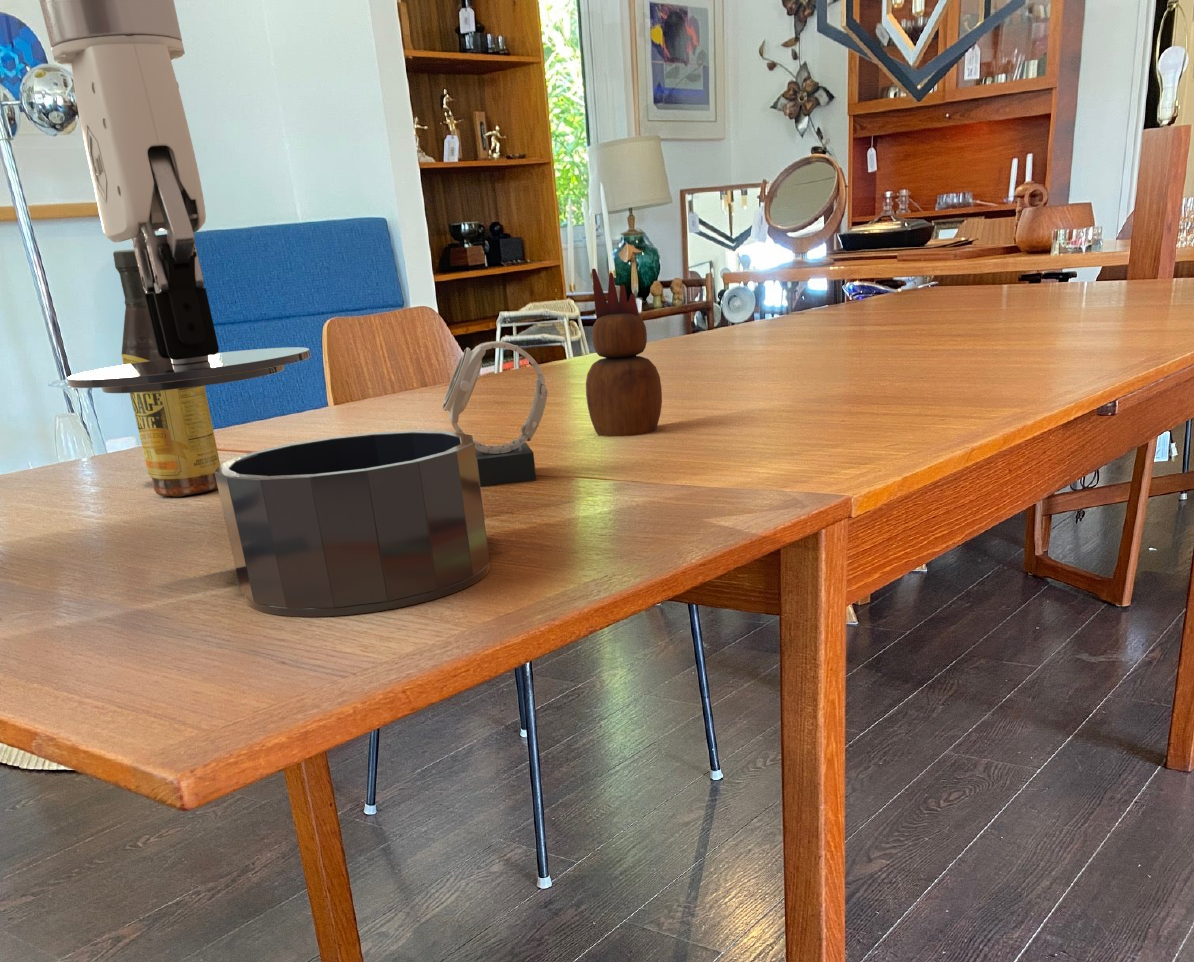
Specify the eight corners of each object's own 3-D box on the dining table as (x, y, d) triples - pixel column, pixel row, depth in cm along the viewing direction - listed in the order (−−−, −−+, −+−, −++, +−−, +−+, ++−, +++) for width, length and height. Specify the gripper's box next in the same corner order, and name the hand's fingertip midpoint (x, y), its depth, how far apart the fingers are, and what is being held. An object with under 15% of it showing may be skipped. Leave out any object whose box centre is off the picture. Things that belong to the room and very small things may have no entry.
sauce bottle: (143, 495, 105) (82, 253, 97) (207, 482, 109) (155, 248, 100) (172, 502, 101) (111, 249, 92) (239, 488, 104) (186, 243, 96)
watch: (453, 490, 94) (433, 346, 89) (551, 479, 95) (537, 335, 90) (456, 504, 89) (435, 351, 84) (560, 491, 90) (545, 339, 85)
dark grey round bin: (285, 634, 61) (255, 490, 58) (219, 582, 73) (190, 459, 70) (531, 577, 67) (516, 444, 64) (433, 538, 79) (416, 423, 76)
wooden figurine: (579, 448, 108) (563, 271, 102) (613, 437, 112) (600, 267, 106) (641, 449, 104) (629, 266, 98) (674, 437, 109) (664, 261, 102)
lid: (91, 404, 68) (61, 292, 66) (57, 390, 81) (31, 295, 78) (343, 368, 75) (325, 264, 72) (276, 360, 87) (258, 272, 85)
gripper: (32, 54, 74) (110, 360, 82) (66, 0, 61) (155, 368, 69) (152, 51, 77) (216, 346, 85) (208, -1, 64) (278, 352, 72)
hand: (188, 353), depth 77 cm, fingers closed on lid, 2 cm apart
